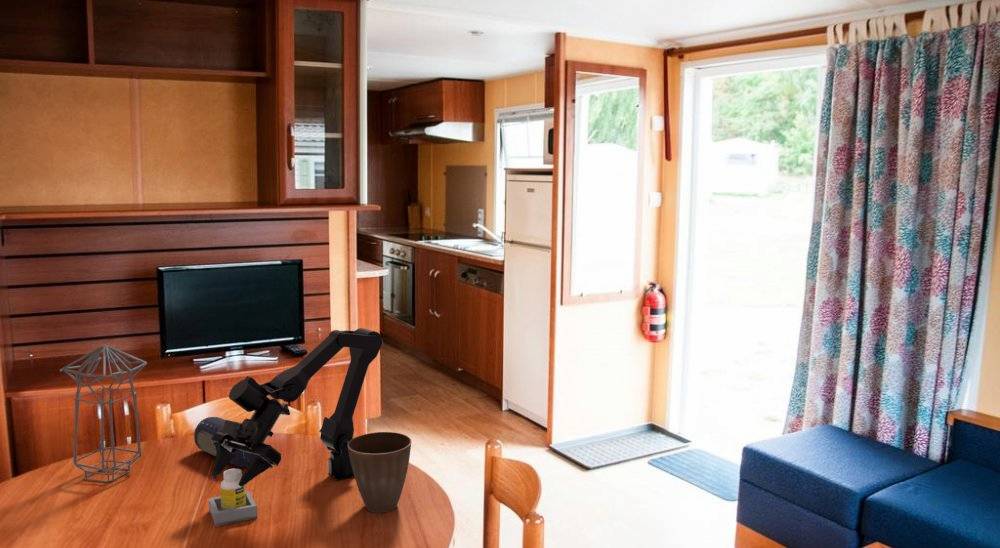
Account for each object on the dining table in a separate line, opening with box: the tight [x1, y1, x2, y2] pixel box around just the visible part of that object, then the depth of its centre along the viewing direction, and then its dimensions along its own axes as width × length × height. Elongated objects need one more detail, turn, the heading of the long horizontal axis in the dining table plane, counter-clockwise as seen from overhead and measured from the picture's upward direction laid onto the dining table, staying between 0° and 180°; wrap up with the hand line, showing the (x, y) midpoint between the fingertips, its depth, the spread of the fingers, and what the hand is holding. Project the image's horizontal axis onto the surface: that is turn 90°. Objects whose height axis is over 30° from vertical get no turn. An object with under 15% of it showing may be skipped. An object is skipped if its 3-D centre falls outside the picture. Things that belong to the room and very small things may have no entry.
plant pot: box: [348, 431, 412, 514], centre depth 185 cm, size 15×15×16 cm
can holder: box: [208, 490, 258, 527], centre depth 181 cm, size 9×9×3 cm
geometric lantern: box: [59, 344, 148, 483], centre depth 202 cm, size 16×16×35 cm
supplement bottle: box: [220, 468, 246, 511], centre depth 181 cm, size 5×5×10 cm
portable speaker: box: [193, 416, 250, 468], centre depth 216 cm, size 25×10×10 cm, turn 50°
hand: (226, 481), depth 179 cm, fingers open, 9 cm apart
